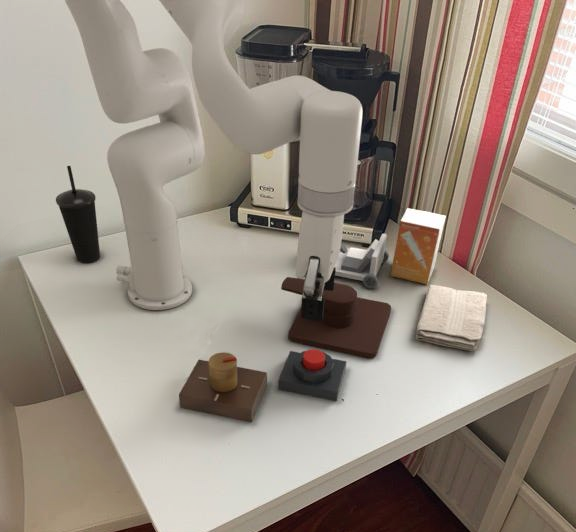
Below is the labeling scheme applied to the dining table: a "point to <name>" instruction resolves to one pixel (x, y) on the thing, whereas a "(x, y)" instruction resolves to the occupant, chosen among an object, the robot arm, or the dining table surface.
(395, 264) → the small box
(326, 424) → the dining table surface
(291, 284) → the lever handle
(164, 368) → the dining table surface
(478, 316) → the washcloth
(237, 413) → the dimmer panel
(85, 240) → the drinking cup
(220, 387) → the dimmer knob
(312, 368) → the power button
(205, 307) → the dining table surface
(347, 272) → the toy car
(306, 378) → the switch block
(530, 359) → the dining table surface
